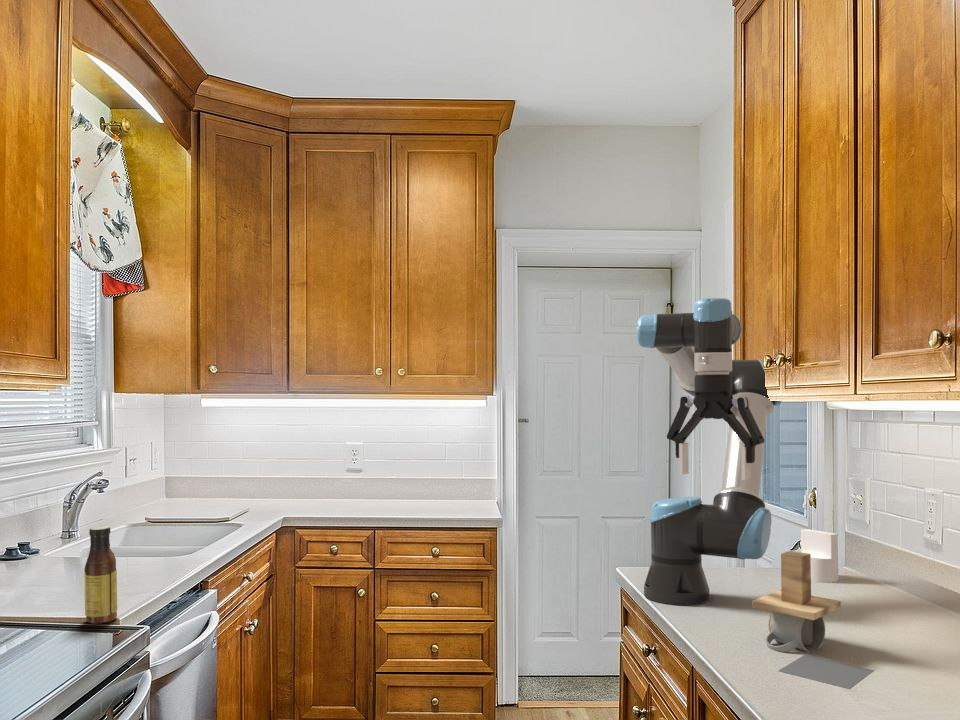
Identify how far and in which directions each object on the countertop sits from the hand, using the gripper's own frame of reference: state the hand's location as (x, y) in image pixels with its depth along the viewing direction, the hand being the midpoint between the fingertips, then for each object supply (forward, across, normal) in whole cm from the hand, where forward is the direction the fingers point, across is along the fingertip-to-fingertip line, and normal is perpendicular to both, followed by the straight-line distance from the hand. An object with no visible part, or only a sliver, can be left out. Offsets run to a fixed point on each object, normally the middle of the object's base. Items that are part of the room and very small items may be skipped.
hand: (714, 476), depth 167 cm
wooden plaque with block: (+24, +17, 0) cm, 29 cm away
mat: (+31, +26, -11) cm, 42 cm away
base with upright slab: (+32, +1, +59) cm, 67 cm away
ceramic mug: (+31, +16, -1) cm, 35 cm away
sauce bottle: (+31, -101, -81) cm, 133 cm away
